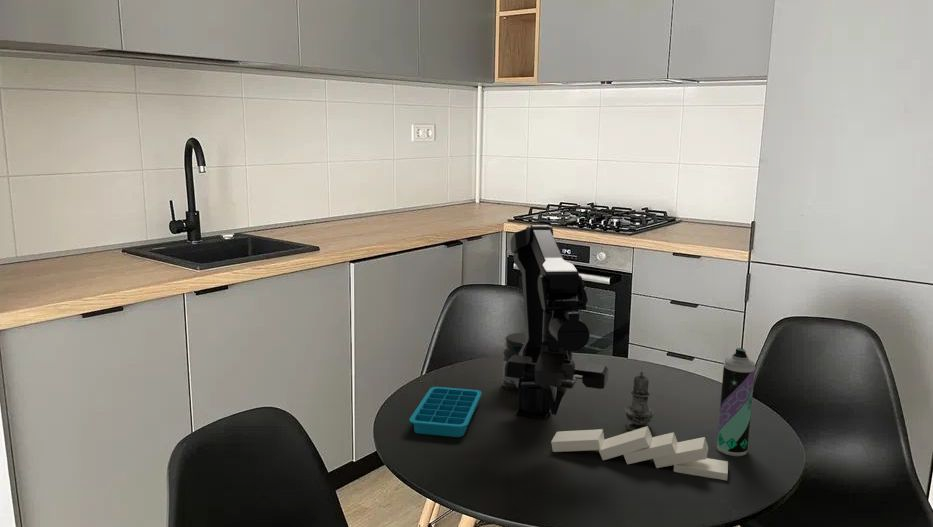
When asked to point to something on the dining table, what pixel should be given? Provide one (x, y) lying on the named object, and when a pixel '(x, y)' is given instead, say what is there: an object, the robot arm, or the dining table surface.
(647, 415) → the chess piece
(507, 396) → the dining table surface
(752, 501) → the dining table surface
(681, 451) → the domino
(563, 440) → the domino
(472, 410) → the ice cube tray
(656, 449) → the domino
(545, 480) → the dining table surface
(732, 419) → the spray can
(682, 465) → the domino
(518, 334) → the supplement container
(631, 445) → the domino
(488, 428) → the dining table surface
